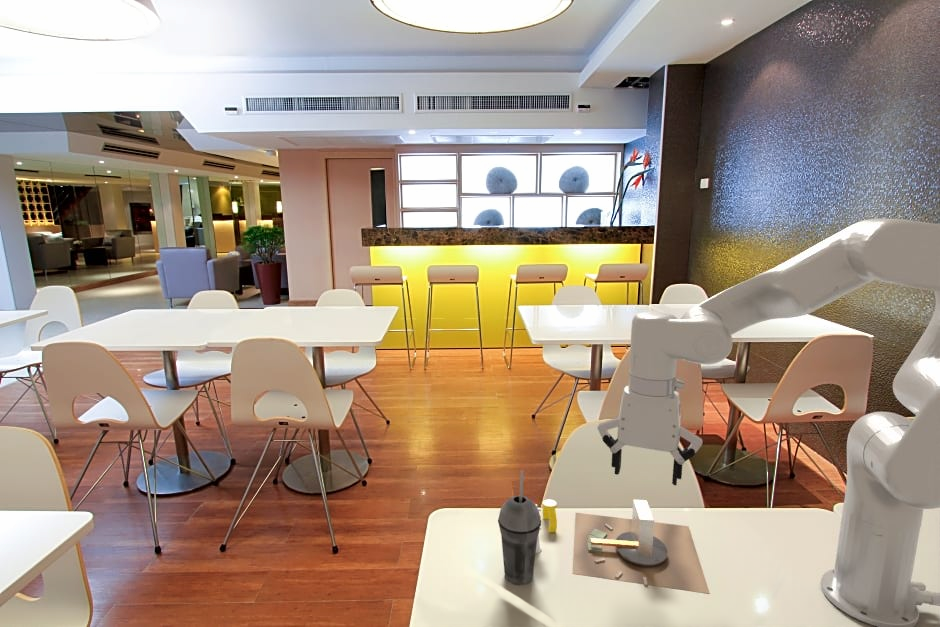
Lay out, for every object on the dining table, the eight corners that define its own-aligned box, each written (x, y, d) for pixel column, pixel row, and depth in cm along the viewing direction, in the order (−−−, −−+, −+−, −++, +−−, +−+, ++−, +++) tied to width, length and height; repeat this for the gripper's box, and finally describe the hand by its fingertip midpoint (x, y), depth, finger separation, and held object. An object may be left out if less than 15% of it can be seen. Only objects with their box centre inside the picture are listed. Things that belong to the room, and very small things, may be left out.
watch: (560, 538, 100) (560, 511, 99) (546, 539, 100) (546, 512, 98) (552, 521, 106) (552, 494, 105) (538, 521, 105) (539, 495, 104)
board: (688, 531, 102) (688, 524, 102) (709, 601, 83) (710, 593, 83) (575, 517, 107) (575, 510, 106) (572, 581, 88) (572, 572, 88)
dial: (660, 537, 98) (663, 497, 96) (672, 569, 89) (675, 526, 87) (588, 532, 99) (590, 493, 98) (593, 562, 91) (594, 520, 89)
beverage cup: (492, 590, 86) (492, 480, 82) (504, 563, 93) (505, 461, 89) (534, 601, 84) (537, 488, 80) (543, 572, 90) (546, 467, 87)
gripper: (706, 383, 88) (698, 475, 91) (603, 372, 95) (599, 458, 98) (707, 397, 81) (698, 496, 84) (596, 384, 88) (592, 476, 91)
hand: (645, 476), depth 91 cm, fingers open, 9 cm apart
